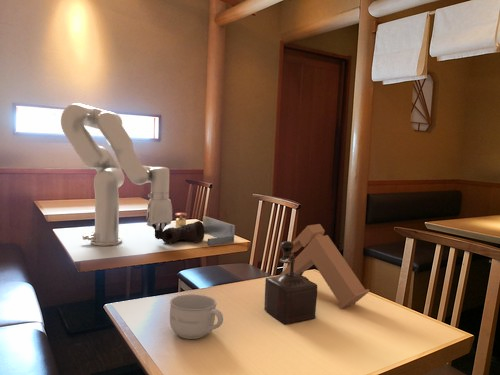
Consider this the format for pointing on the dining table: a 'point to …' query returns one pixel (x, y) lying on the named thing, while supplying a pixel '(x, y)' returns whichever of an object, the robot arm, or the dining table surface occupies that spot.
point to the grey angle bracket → (218, 231)
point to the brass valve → (180, 220)
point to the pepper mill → (290, 293)
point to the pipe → (185, 233)
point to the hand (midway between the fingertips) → (158, 238)
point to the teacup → (194, 315)
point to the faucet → (327, 265)
